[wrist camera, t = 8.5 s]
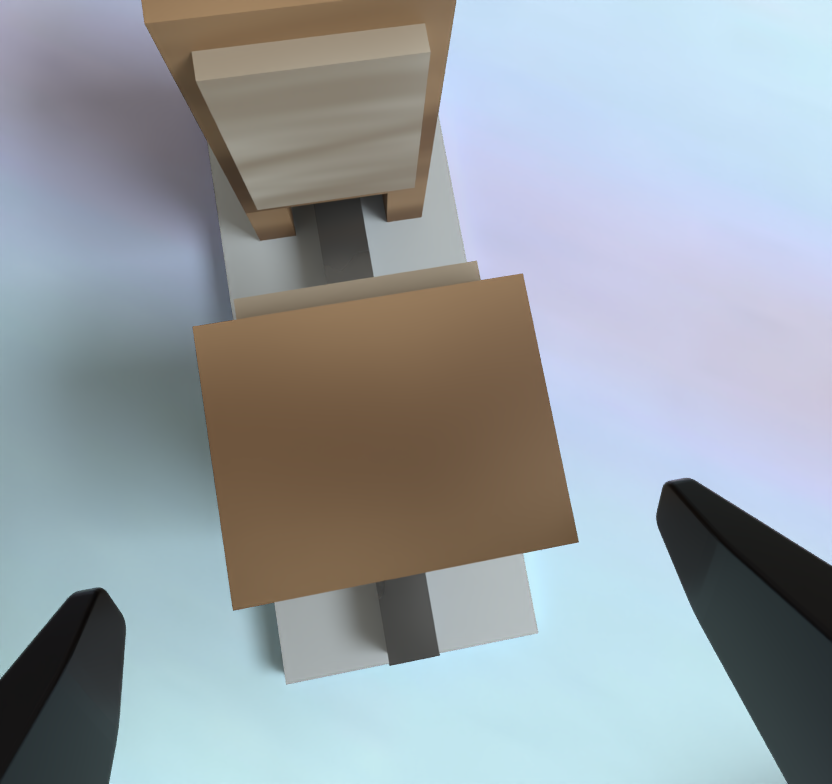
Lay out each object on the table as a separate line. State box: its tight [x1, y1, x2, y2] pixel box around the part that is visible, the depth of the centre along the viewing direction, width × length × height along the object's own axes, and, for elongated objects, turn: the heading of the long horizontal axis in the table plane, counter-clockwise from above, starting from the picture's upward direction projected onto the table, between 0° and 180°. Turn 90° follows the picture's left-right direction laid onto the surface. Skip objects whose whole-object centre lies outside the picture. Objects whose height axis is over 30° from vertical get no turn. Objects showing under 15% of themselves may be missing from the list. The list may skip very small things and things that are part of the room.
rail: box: [314, 197, 440, 666], centre depth 19 cm, size 19×2×1 cm, turn 10°
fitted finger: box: [141, 0, 456, 241], centre depth 16 cm, size 5×6×10 cm
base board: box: [207, 116, 538, 684], centre depth 20 cm, size 20×8×1 cm, turn 10°
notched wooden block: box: [193, 261, 579, 611], centre depth 15 cm, size 5×6×10 cm
